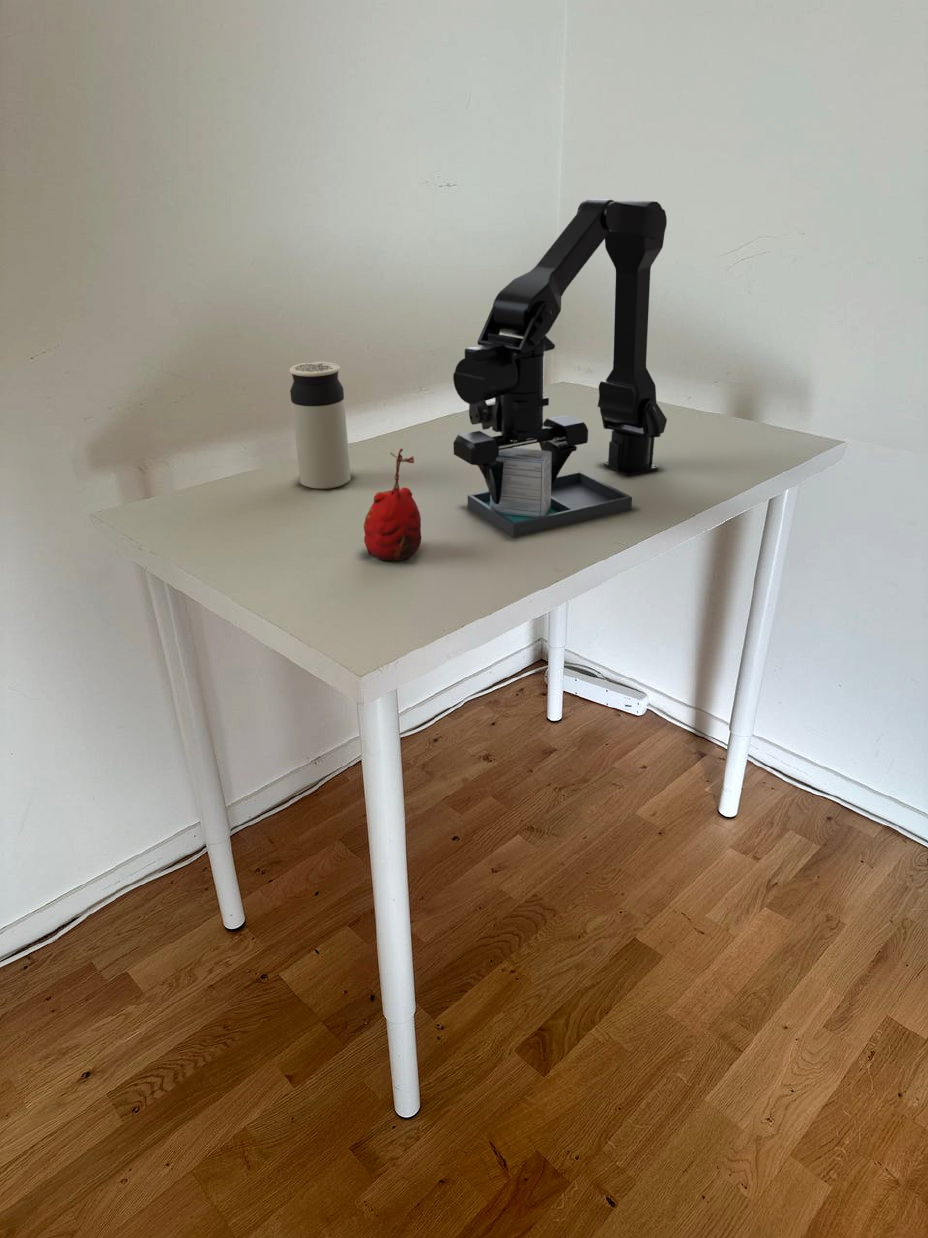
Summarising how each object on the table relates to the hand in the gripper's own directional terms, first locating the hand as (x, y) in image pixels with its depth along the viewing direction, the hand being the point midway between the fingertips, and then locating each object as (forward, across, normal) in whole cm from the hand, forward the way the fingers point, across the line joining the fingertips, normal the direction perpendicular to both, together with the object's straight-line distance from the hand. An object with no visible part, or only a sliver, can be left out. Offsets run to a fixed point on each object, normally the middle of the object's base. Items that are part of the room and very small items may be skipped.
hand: (521, 497), depth 129 cm
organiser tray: (+3, -5, 0) cm, 5 cm away
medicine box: (+2, 0, 0) cm, 2 cm away
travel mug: (+3, +19, -28) cm, 34 cm away
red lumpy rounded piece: (+3, +21, +3) cm, 22 cm away
